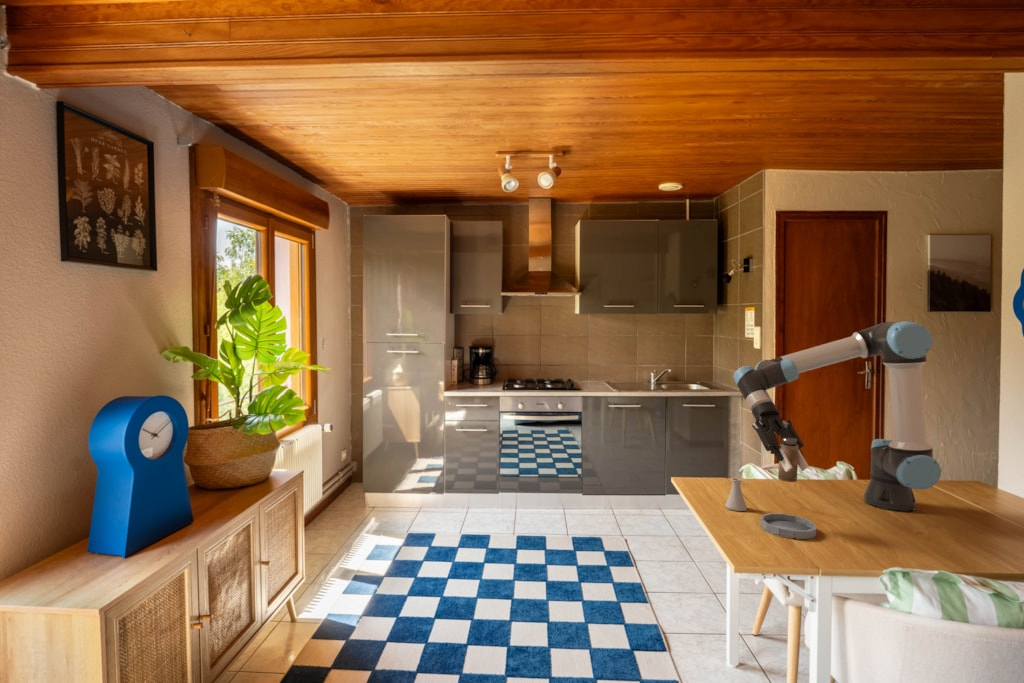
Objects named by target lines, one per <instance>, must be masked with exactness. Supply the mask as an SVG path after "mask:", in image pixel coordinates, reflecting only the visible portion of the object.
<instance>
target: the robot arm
mask: <svg viewBox="0 0 1024 683" xmlns="http://www.w3.org/2000/svg"><path fill="white" fill-rule="evenodd" d="M932 346H933V337H932V335H931V332H930V331H929V329H928V328H927V327H925V325H923V324H920V323H918V322H913V321H910V320H903V321H886V322H882V323H878V324H875V325H873V326H870V327H867V328H864V329H861V330H859V331H855V332H853V333H852V335H851V336H848V337H843V338H842V339H837V340H833V341H830V342H827V343H824V344H820V345H816V346H814V347H813V346H812V347H809V348H807V349H803V350H799V351H796V352H792V353H789V354H785V355H782V356H781V355H780V356H779V357H774V358H771V359H764V360H760V361H759V362H758V363H757V364H756V366H755V367H753V366H752V365H747V366H746V365H743V366H741V367H739V368H738V369H737V370H736V371H734V373H733V380H734V381H735V384H736V387H737V388H738V390H739V392H740V394H741V395H742V397H743V399H744V401H745V403H746V404H747V406H748V408H749V410H750V411H751V414H752V416H753V417H754V419H755V422H754V423H753V424H752V425H751V427H752V428H753V429H754V430H755V432H756V433H757V435H758V437H759V439H760V442H761V443H762V445H763V447H764V448H765V451H766V452H770V454H771V455H774V457H775V458H776V459H777V461H778V462H779V461H780V462H781V464H782V466H783V468H784V470H785V472H788V471H789V470H790V469H791V468H792V465H791V463H790V462H789V460H788V458H787V456H786V454H785V453H784V451H783V449H780V444H779V442H778V439H777V436H780V437H781V439H782V437H792V438H796V439H797V444H796V445H798V446H799V448H798V468H799V469H800V471H801V472H805V470H806V469H808V468H809V465H808V462H807V461H806V459H805V455H804V454H803V452H802V450H801V449H802V448H803V447H804V442H803V441H802V439H801V438H800V436H799V435H798V433H797V431H796V430H795V428H794V427H793V423H792V421H791V420H789V419H788V420H787V421H785V420H783V418H782V417H781V416H780V415H779V410H778V407H776V405H775V403H774V401H773V399H772V398H771V396H770V394H769V392H768V390H770V389H773V388H775V387H779V386H782V385H785V384H788V383H789V384H790V383H791V382H793V381H795V380H798V379H799V376H800V374H801V373H804V372H808V371H812V370H815V369H820V368H822V367H827V366H830V365H834V364H838V363H841V362H845V361H849V360H852V359H856V358H859V357H860V358H862V359H867V358H870V357H875V356H876V357H877V356H881V359H882V364H883V365H884V366H886V368H887V369H888V379H889V394H890V407H891V420H892V421H891V422H892V433H893V435H892V436H893V439H889V438H888V439H886V438H875V439H873V440H872V441H871V447H870V480H869V482H868V484H867V487H866V490H865V492H864V493H863V501H864V500H865V501H866V502H868V503H870V504H872V505H875V506H879V507H882V508H881V509H883V508H886V509H885V510H888V509H892V510H891V511H894V510H900V511H899V512H911V511H910V510H914V509H916V510H917V502H916V499H915V498H916V497H915V495H914V492H913V490H917V491H922V490H928V489H930V488H933V487H934V486H935V485H936V484H938V482H939V481H940V479H941V477H942V468H941V465H940V464H939V462H938V461H937V459H935V458H934V453H933V452H934V450H933V449H934V448H933V445H931V444H930V443H929V442H928V441H927V435H926V424H925V419H926V418H925V408H924V406H925V404H924V393H923V378H922V376H923V375H922V367H923V366H924V365H925V364H927V354H928V352H930V350H931V349H932ZM912 489H913V490H912ZM865 501H864V502H865ZM866 502H865V503H866ZM868 503H867V504H868ZM870 504H869V505H870ZM872 505H871V506H872ZM875 506H874V507H875ZM879 507H878V508H879ZM908 510H909V511H908ZM914 511H915V510H914Z"/></svg>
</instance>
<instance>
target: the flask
mask: <svg viewBox="0 0 1024 683" xmlns="http://www.w3.org/2000/svg"><path fill="white" fill-rule="evenodd" d="M731 483H732V485H731V489H730V492H729V496H727V497H728V498H727V500H726V503H725V505H724V508H726V509H727V510H728V511H729V510H730V511H734V512H746V511H747V510H748V506H747V504H746V501H745V497H744V495H743V492H742V488H741V483H742V479H741V478H736V477H735V478H734V477H733V478H731Z"/></svg>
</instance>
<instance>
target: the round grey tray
mask: <svg viewBox="0 0 1024 683" xmlns="http://www.w3.org/2000/svg"><path fill="white" fill-rule="evenodd" d="M761 526H762V527H761ZM760 527H761V529H762V530H764V531H765V530H766V531H765V532H767V531H768V532H767V533H769V532H770V533H769V534H771V533H772V534H771V535H774V534H775V535H774V536H777V535H778V536H777V537H780V536H782V537H781V538H784V537H787V538H786V539H790V538H797V539H796V540H800V539H804V540H811V539H813V538H815V537H816V536H817V524H815V522H813V521H811V520H810V519H807V518H805V517H801V516H797V515H793V514H786V513H779V512H778V513H773V512H772V513H770V512H769V513H766V514H762V515H761V518H760ZM810 538H811V539H810Z"/></svg>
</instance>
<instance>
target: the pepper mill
mask: <svg viewBox="0 0 1024 683" xmlns="http://www.w3.org/2000/svg"><path fill="white" fill-rule="evenodd" d="M796 444H797V439H796V438H792V437H782V438H781V442H780V443H779V449H783V451H784V453H785V454H786V456H787V458H788V460H789V462H790V463H791V465H792V468H791V469H790V470H789V471H788V472H785V470H784V468H783V466H782V464H781V462H780V461H778V473H777V474H778V477H777V479H778V480H779V481H783V482H786V483H796V482H797V481H798V468H799V465H798V448H799V446H798V445H796Z"/></svg>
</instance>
